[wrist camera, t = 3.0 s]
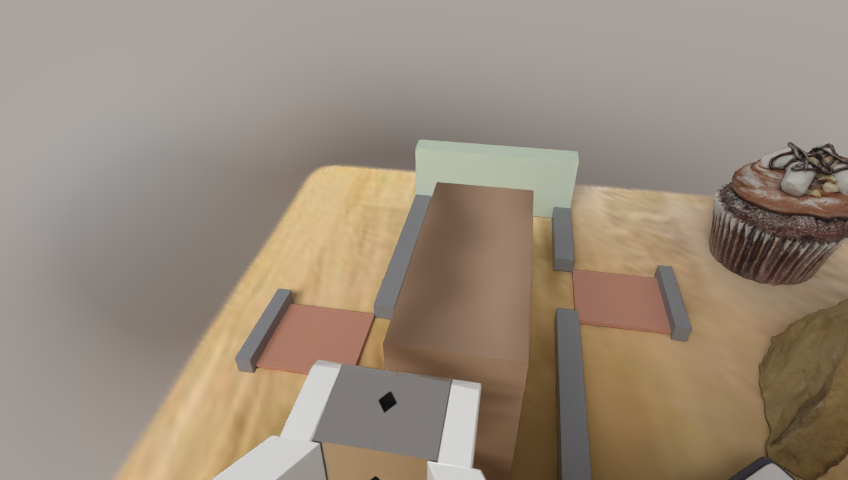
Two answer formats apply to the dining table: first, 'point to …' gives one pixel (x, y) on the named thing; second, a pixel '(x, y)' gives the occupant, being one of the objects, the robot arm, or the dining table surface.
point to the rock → (808, 393)
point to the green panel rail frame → (593, 291)
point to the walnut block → (471, 308)
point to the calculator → (762, 471)
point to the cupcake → (782, 215)
